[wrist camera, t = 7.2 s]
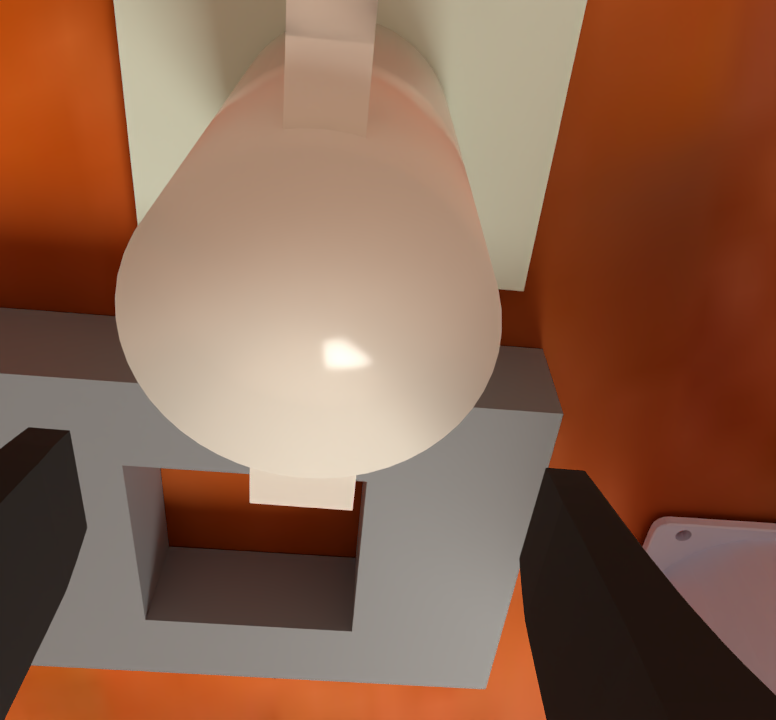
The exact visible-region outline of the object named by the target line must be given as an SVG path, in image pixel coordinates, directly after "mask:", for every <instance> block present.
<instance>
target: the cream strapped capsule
mask: <svg viewBox="0 0 776 720" xmlns="http://www.w3.org/2000/svg"><path fill="white" fill-rule="evenodd" d="M377 8H378V0H286V29H285V32H283V33H282V34H280V35H279V36H277V37H276V38H275V39H274V40H272V41H271V42H270V43H269V44H268V45H267V46H266V47H265V48H264V49H263V50H262V51H261V52H260V53H259V54H258V55H257V57H256V58H255V60H254V61H253V63H252V64H251V65H250V67H249V68H248V70H247V71H246V73H245V74H244V75H243V77H242V78H241V80H240V81H239V83H238V84H237V85H236V87H235V88H234V90H233V91H232V92H231V94H230V95H229V97H228V98H227V100H226V101H225V102H224V104H223V105H222V107H221V108H220V110H219V111H218V112H217V114H216V115H215V117H214V118H213V120H212V121H211V122H210V124H209V125H208V127H207V128H206V129H205V131H204V132H203V134H202V135H201V137H200V138H199V139H198V141H197V142H196V144H195V145H194V147H193V148H192V149H191V151H190V152H189V154H188V155H187V156H186V158H185V159H184V161H183V162H182V164H181V165H180V166H179V168H178V169H177V171H176V172H175V174H174V175H173V176H172V178H171V179H170V181H169V182H168V184H167V185H166V186H165V188H164V189H163V191H162V192H161V193H160V195H159V196H158V198H157V199H156V201H155V202H154V203H153V205H152V206H151V208H150V209H149V211H148V212H147V213H146V215H145V216H144V218H143V219H142V221H141V222H140V224H139V225H138V227H137V228H136V229H135V231H134V233H133V235H132V237H131V239H130V241H129V243H128V245H127V247H126V249H125V252H124V254H123V258H122V261H121V265H120V268H119V272H118V275H117V284H116V292H115V314H116V323H117V329H118V334H119V339H120V343H121V346H122V349H123V351H124V354H125V357H126V360H127V362H128V364H129V366H130V368H131V370H132V372H133V374H134V376H135V378H136V380H137V382H138V383H139V385H140V386H141V388H142V389H143V391H144V392H145V394H146V395H147V397H148V398H149V399H150V401H151V402H152V403H153V404H154V405H155V406H156V407H157V408H158V410H159V411H160V412H161V413H162V414H163V415H164V416H165V417H166V418H167V419H168V420H169V421H170V422H171V423H172V424H174V425H175V426H176V427H177V428H178V429H179V430H180V431H182V432H183V433H184V434H186V435H187V436H189V437H190V438H191V439H193V440H194V441H196V442H197V443H198V444H200V445H202V446H204V447H205V448H207V449H209V450H211V451H212V452H214V453H216V454H218V455H220V456H222V457H224V458H227V459H229V460H231V461H233V462H236V463H238V464H241V465H244V466H247V467H250V503H255V504H269V505H283V506H296V507H310V508H324V509H338V510H351V511H353V502H354V492H355V483H356V475H361V474H366V473H370V472H374V471H377V470H381V469H385V468H388V467H391V466H393V465H396V464H398V463H401V462H403V461H406V460H408V459H410V458H412V457H414V456H416V455H417V454H419V453H421V452H423V451H425V450H427V449H428V448H430V447H431V446H433V445H434V444H435V443H437V442H438V441H440V440H441V439H443V438H444V437H445V436H446V435H447V434H448V433H450V432H451V431H452V430H453V429H454V428H455V427H456V426H457V425H459V424H460V422H461V421H462V420H463V419H464V418H465V417H466V415H467V414H468V413H469V412H470V411H471V410H472V409H473V407H474V406H475V404H476V402H477V401H478V399H479V398H480V396H481V395H482V393H483V392H484V390H485V388H486V386H487V384H488V381H489V379H490V377H491V375H492V373H493V370H494V367H495V363H496V360H497V357H498V353H499V347H500V340H501V334H502V309H501V303H500V296H499V290H498V285H497V282H496V278H495V275H494V271H493V267H492V264H491V260H490V256H489V253H488V249H487V246H486V242H485V238H484V235H483V231H482V227H481V224H480V220H479V216H478V213H477V209H476V206H475V202H474V198H473V195H472V191H471V187H470V184H469V180H468V176H467V173H466V169H465V166H464V162H463V158H462V155H461V151H460V147H459V144H458V140H457V137H456V133H455V129H454V126H453V122H452V118H451V115H450V111H449V107H448V104H447V100H446V97H445V94H444V91H443V88H442V86H441V84H440V81H439V79H438V77H437V75H436V73H435V72H434V70H433V69H432V67H431V66H430V64H429V62H428V61H427V60H426V59H425V58H424V56H423V55H422V54H421V53H420V52H419V51H418V50H417V49H416V48H415V47H414V46H413V45H412V44H411V43H410V42H409V41H407V40H406V39H405V38H403V37H402V36H400V35H399V34H397V33H396V32H394V31H392V30H390V29H388V28H386V27H384V26H382V25H380V24H377V23H376V19H377Z"/></svg>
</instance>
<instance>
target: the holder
mask: <svg viewBox="0 0 776 720" xmlns="http://www.w3.org/2000/svg"><path fill="white" fill-rule="evenodd" d="M562 417H563V411H562V408H561V405H560V402H559V399H558V396H557V392H556V389H555V386H554V383H553V380H552V377H551V374H550V371H549V367H548V364H547V361H546V358H545V355H544V352H543V349H538V348H525V347H512V346H500V347H499V353H498V357H497V360H496V363H495V367H494V370H493V373H492V375H491V377H490V379H489V381H488V384H487V386H486V388H485V390H484V392H483V393H482V395H481V396H480V398H479V399H478V401H477V402H476V404H475V406H474V407H473V409H472V410H471V411H470V412H469V413H468V414H467V415H466V417H465V418H464V419H463V420H462V421H461V422H460V424H459V425H457V426H456V427H455V428H454V429H453V430H452V431H451V432H450V433H448V434H447V435H446V436H445V437H444V438H443V439H441V440H440V441H438V442H437V443H435V444H434V445H433V446H431V447H430V448H428V449H427V450H425V451H423V452H421V453H419V454H417V455H416V456H414V457H412V458H410V459H408V460H406V461H403V462H401V463H398V464H396V465H393V466H391V467H388V468H385V469H381V470H377V471H374V472H370V473H366V474H361V475H356V481H363V485H362V495H361V506H360V516H359V527H358V537H357V548H356V558H349V557H333V556H316V555H300V554H284V553H267V552H251V551H235V550H218V549H202V548H186V547H169V541H168V532H167V523H166V514H165V505H164V496H163V488H162V479H161V470H160V468H168V469H183V470H198V471H213V472H228V473H244V474H250V467H247V466H244V465H241V464H238V463H236V462H233V461H231V460H229V459H227V458H224V457H222V456H220V455H218V454H216V453H214V452H212V451H211V450H209V449H207V448H205V447H204V446H202V445H200V444H198V443H197V442H196V441H194V440H193V439H191V438H190V437H189V436H187V435H186V434H184V433H183V432H182V431H180V430H179V429H178V428H177V427H176V426H175V425H174V424H172V423H171V422H170V421H169V420H168V419H167V418H166V417H165V416H164V415H163V414H162V413H161V412H160V411H159V410H158V408H157V407H156V406H155V405H154V404H153V403H152V402H151V401H150V399H149V398H148V397H147V395H146V394H145V392H144V391H143V389H142V388H141V386H140V385H139V383H138V382H137V380H136V378H135V376H134V374H133V372H132V370H131V368H130V366H129V364H128V362H127V360H126V357H125V354H124V351H123V349H122V346H121V343H120V339H119V334H118V329H117V323H116V316H105V315H92V314H79V313H66V312H53V311H40V310H26V309H13V308H0V449H1V448H2V447H3V446H4V445H6V444H7V443H8V442H9V441H11V440H12V439H13V438H15V437H16V436H17V435H19V434H20V433H21V432H23V431H24V430H25V429H27V428H28V427H32V428H45V429H58V430H70V434H71V439H72V445H73V450H74V456H75V461H76V467H77V472H78V478H79V483H80V489H81V494H82V500H83V505H84V511H85V516H86V522H87V530H86V534H85V537H84V540H83V543H82V546H81V549H80V552H79V556H78V559H77V562H76V565H75V567H74V570H73V573H72V576H71V579H70V582H69V585H68V588H67V590H66V592H65V595H64V597H63V599H62V601H61V603H60V605H59V607H58V610H57V612H56V614H55V616H54V618H53V620H52V622H51V624H50V626H49V628H48V631H47V633H46V635H45V637H44V639H43V641H42V643H41V645H40V647H39V649H38V651H37V653H36V655H35V657H34V660H33V662H32V664H31V665H37V666H56V667H75V668H94V669H113V670H132V671H151V672H170V673H188V674H207V675H226V676H245V677H264V678H283V679H302V680H321V681H340V682H359V683H378V684H397V685H415V686H434V687H453V688H472V689H486V686H487V682H488V679H489V675H490V672H491V668H492V664H493V661H494V657H495V654H496V650H497V647H498V643H499V640H500V636H501V633H502V629H503V626H504V622H505V619H506V615H507V611H508V608H509V604H510V601H511V597H512V594H513V590H514V587H515V583H516V580H517V576H518V573H519V569H520V561H519V558H520V554H521V551H522V547H523V544H524V540H525V537H526V534H527V530H528V527H529V523H530V520H531V516H532V513H533V510H534V506H535V503H536V499H537V496H538V493H539V489H540V486H541V482H542V479H543V475H544V472H545V469H546V468H548V466H549V463H550V459H551V456H552V452H553V449H554V445H555V442H556V438H557V435H558V431H559V428H560V424H561V421H562Z"/></svg>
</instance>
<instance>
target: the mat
mask: <svg viewBox="0 0 776 720" xmlns="http://www.w3.org/2000/svg"><path fill="white" fill-rule="evenodd" d="M113 1H114V10H115V20H116V29H117V38H118V47H119V57H120V66H121V75H122V84H123V94H124V103H125V112H126V121H127V131H128V140H129V149H130V158H131V167H132V177H133V186H134V195H135V204H136V214H137V223H138V225H139V224H140V222H141V221H142V219H143V218H144V216H145V215H146V213H147V212H148V211H149V209H150V208H151V206H152V205H153V203H154V202H155V201H156V199H157V198H158V196H159V195H160V193H161V192H162V191H163V189H164V188H165V186H166V185H167V184H168V182H169V181H170V179H171V178H172V176H173V175H174V174H175V172H176V171H177V169H178V168H179V166H180V165H181V164H182V162H183V161H184V159H185V158H186V156H187V155H188V154H189V152H190V151H191V149H192V148H193V147H194V145H195V144H196V142H197V141H198V139H199V138H200V137H201V135H202V134H203V132H204V131H205V129H206V128H207V127H208V125H209V124H210V122H211V121H212V120H213V118H214V117H215V115H216V114H217V112H218V111H219V110H220V108H221V107H222V105H223V104H224V102H225V101H226V100H227V98H228V97H229V95H230V94H231V92H232V91H233V90H234V88H235V87H236V85H237V84H238V83H239V81H240V80H241V78H242V77H243V75H244V74H245V73H246V71H247V70H248V68H249V67H250V65H251V64H252V63H253V61H254V60H255V58H256V57H257V55H258V54H259V53H260V52H261V51H262V50H263V49H264V48H265V47H266V46H267V45H268V44H269V43H270V42H271V41H272V40H274V39H275V38H276V37H277V36H279V35H280V34H282V33H283V32H285V29H286V0H113ZM586 3H587V0H378V8H377V19H376V23H377V24H380V25H382V26H384V27H386V28H388V29H390V30H392V31H394V32H396V33H397V34H399V35H400V36H402V37H403V38H405V39H406V40H407V41H409V42H410V43H411V44H412V45H413V46H414V47H415V48H416V49H417V50H418V51H419V52H420V53H421V54H422V55H423V56H424V58H425V59H426V60H427V61H428V62H429V64H430V66H431V67H432V69H433V70H434V72H435V73H436V75H437V77H438V79H439V81H440V84H441V86H442V88H443V91H444V94H445V97H446V100H447V104H448V107H449V111H450V115H451V118H452V122H453V126H454V129H455V133H456V137H457V140H458V144H459V147H460V151H461V155H462V158H463V162H464V166H465V169H466V173H467V176H468V180H469V184H470V187H471V191H472V195H473V198H474V202H475V206H476V209H477V213H478V216H479V220H480V224H481V227H482V231H483V235H484V238H485V242H486V246H487V249H488V253H489V256H490V260H491V264H492V267H493V271H494V275H495V278H496V282H497V285H498V289H502V290H514V291H524V287H525V282H526V278H527V273H528V269H529V264H530V260H531V255H532V250H533V246H534V241H535V237H536V232H537V228H538V223H539V218H540V214H541V209H542V205H543V200H544V196H545V191H546V186H547V182H548V177H549V173H550V168H551V164H552V159H553V154H554V150H555V145H556V141H557V136H558V131H559V127H560V122H561V118H562V113H563V109H564V104H565V99H566V95H567V90H568V86H569V81H570V77H571V72H572V67H573V63H574V58H575V54H576V49H577V45H578V40H579V35H580V31H581V26H582V22H583V17H584V13H585V8H586Z"/></svg>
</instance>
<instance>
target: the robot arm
mask: <svg viewBox="0 0 776 720" xmlns="http://www.w3.org/2000/svg"><path fill="white" fill-rule="evenodd" d="M86 530H87V522H86V516H85V511H84V505H83V500H82V494H81V489H80V483H79V478H78V472H77V467H76V461H75V456H74V450H73V445H72V439H71V434H70V430H58V429H45V428H32V427H28V428H27V429H25V430H24V431H23V432H21V433H20V434H19V435H17V436H16V437H15V438H13V439H12V440H11V441H9V442H8V443H7V444H6V445H4V446H3V447H2V448H1V449H0V720H4V719H5V717H6V715H7V713H8V711H9V709H10V707H11V705H12V703H13V701H14V699H15V697H16V695H17V692H18V690H19V688H20V686H21V684H22V682H23V680H24V678H25V676H26V674H27V672H28V670H29V668H30V666H31V664H32V662H33V660H34V657H35V655H36V653H37V651H38V649H39V647H40V645H41V643H42V641H43V639H44V637H45V635H46V633H47V631H48V628H49V626H50V624H51V622H52V620H53V618H54V616H55V614H56V612H57V610H58V607H59V605H60V603H61V601H62V599H63V597H64V595H65V592H66V590H67V588H68V585H69V582H70V579H71V576H72V573H73V570H74V567H75V565H76V562H77V559H78V556H79V552H80V549H81V546H82V543H83V540H84V537H85V534H86ZM683 530H684V531H683ZM680 531H682V532H680ZM519 561H520V573H521V585H522V596H523V605H524V615H525V622H526V627H527V632H528V637H529V642H530V646H531V651H532V656H533V660H534V665H535V670H536V674H537V679H538V683H539V688H540V692H541V697H542V701H543V706H544V710H545V715H546V719H547V720H776V523H763V522H748V521H732V520H717V519H702V518H686V517H671V516H667V517H662V518H659V519H657V520H656V521H654V522H653V524H652V525H651V527H650V529H649V532H648V534H647V537H646V539H645V541H644V544H643V546H641V545H640V543H639V542H638V541H637V539H636V538H635V537H634V535H633V534H632V533H631V532H630V530H629V529H628V528H627V526H626V525H625V524H624V522H623V521H622V520H621V518H620V517H619V516H618V514H617V513H616V512H615V510H614V509H613V508H612V506H611V505H610V504H609V502H608V501H607V500H606V498H605V497H604V496H603V494H602V493H601V492H600V490H599V489H598V488H597V486H596V485H595V484H594V482H593V481H592V480H591V478H590V477H589V476H588V475H587V473H586V472H585V471H580V470H567V469H555V468H546V469H545V472H544V475H543V479H542V482H541V486H540V489H539V493H538V496H537V499H536V503H535V506H534V510H533V513H532V516H531V520H530V523H529V527H528V530H527V534H526V537H525V540H524V544H523V547H522V551H521V554H520V558H519Z"/></svg>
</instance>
